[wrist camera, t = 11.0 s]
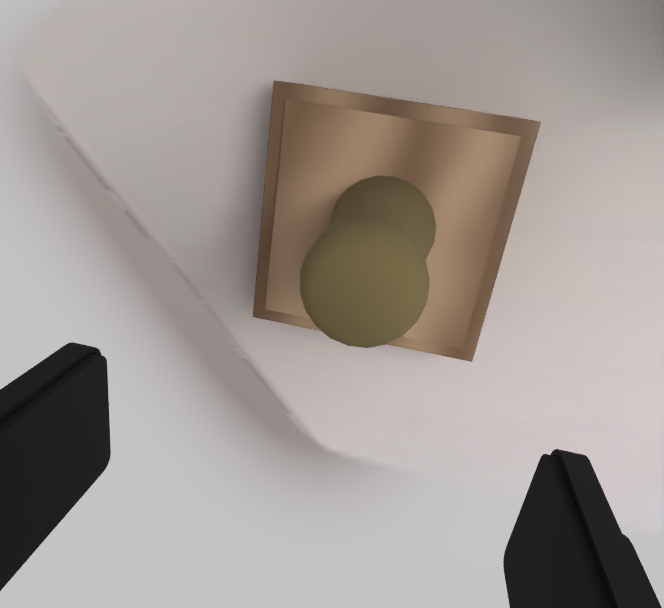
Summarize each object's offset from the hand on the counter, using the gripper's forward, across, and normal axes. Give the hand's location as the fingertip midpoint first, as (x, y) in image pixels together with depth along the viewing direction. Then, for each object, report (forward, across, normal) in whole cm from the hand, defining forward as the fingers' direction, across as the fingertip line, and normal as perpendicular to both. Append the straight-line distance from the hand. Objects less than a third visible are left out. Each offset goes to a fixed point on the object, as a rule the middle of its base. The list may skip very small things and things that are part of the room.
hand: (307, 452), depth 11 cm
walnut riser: (+24, 0, 0) cm, 24 cm away
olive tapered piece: (+20, 0, 0) cm, 20 cm away
